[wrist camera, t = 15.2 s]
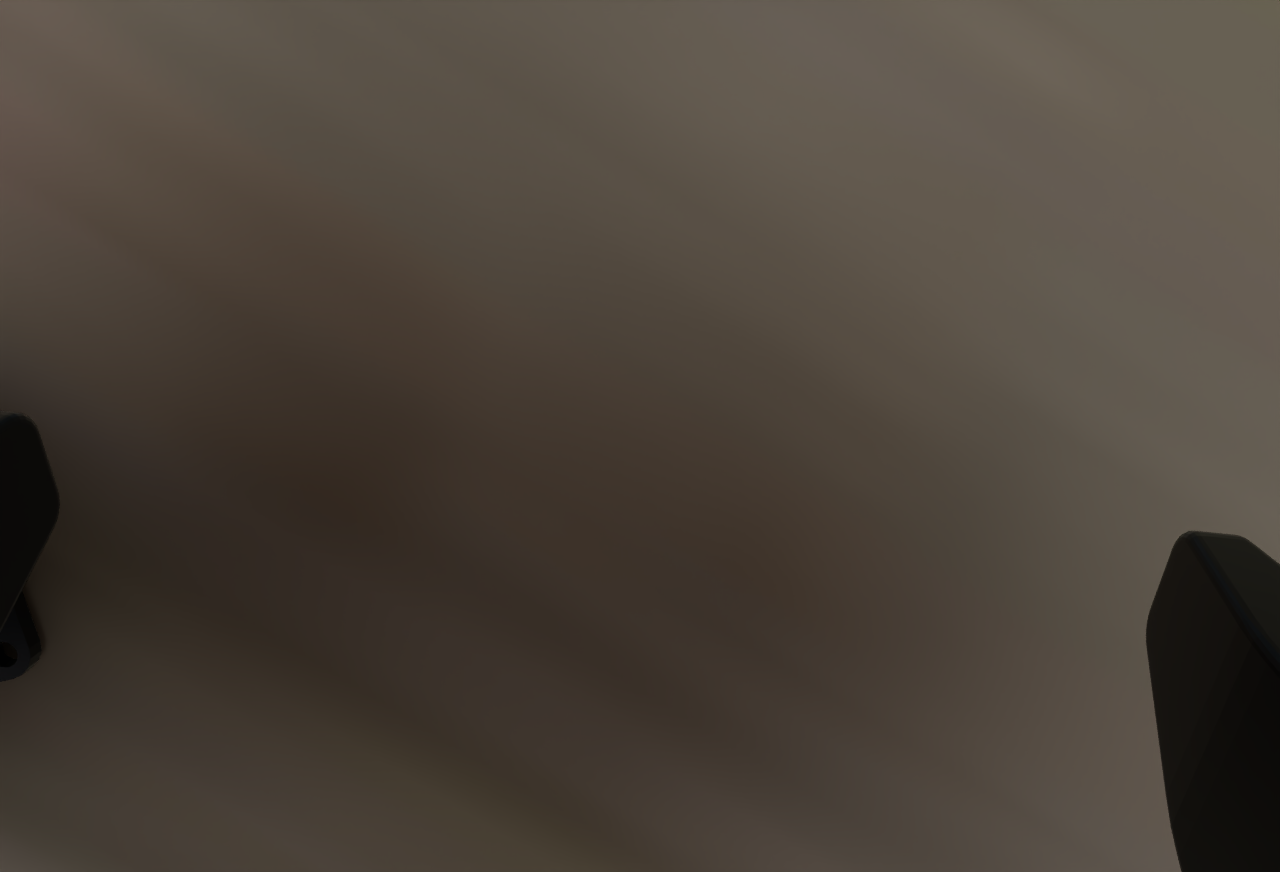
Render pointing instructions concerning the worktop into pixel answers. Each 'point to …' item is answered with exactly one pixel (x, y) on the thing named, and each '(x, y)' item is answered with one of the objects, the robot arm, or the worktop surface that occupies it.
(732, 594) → the worktop surface
